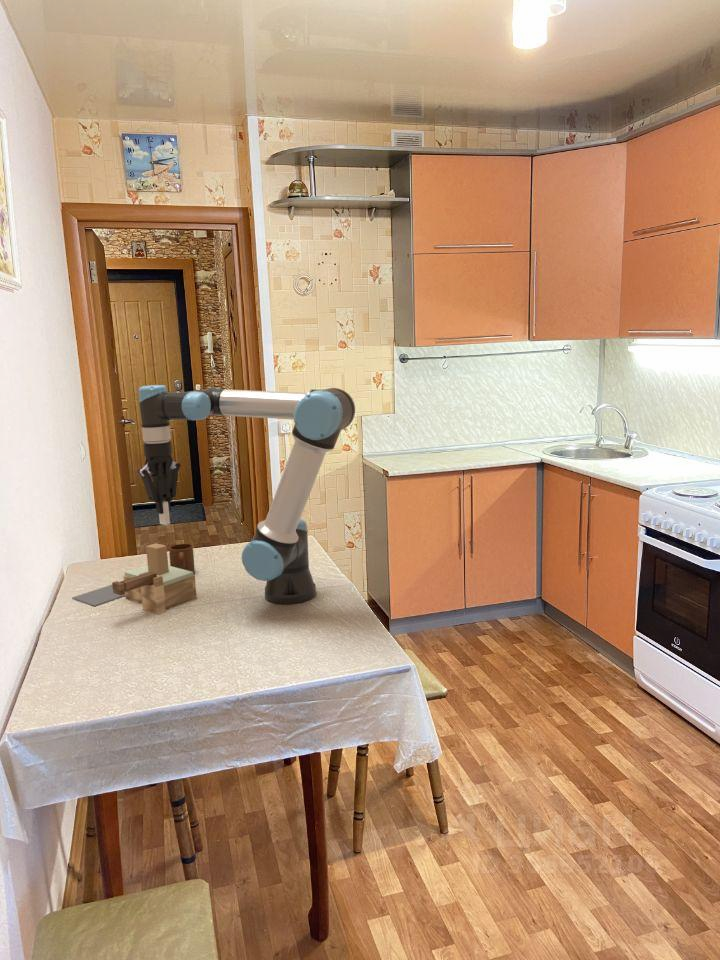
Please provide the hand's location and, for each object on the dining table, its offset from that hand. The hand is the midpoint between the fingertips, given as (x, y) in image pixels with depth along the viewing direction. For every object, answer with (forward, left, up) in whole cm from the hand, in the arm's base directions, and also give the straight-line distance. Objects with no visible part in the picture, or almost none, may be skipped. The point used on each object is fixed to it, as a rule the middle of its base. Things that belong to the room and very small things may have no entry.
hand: (165, 523), depth 202 cm
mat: (+24, +4, -24) cm, 34 cm away
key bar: (0, +11, -16) cm, 19 cm away
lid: (+7, -1, -17) cm, 18 cm away
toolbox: (+6, 0, -24) cm, 25 cm away
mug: (+18, -18, -24) cm, 35 cm away
